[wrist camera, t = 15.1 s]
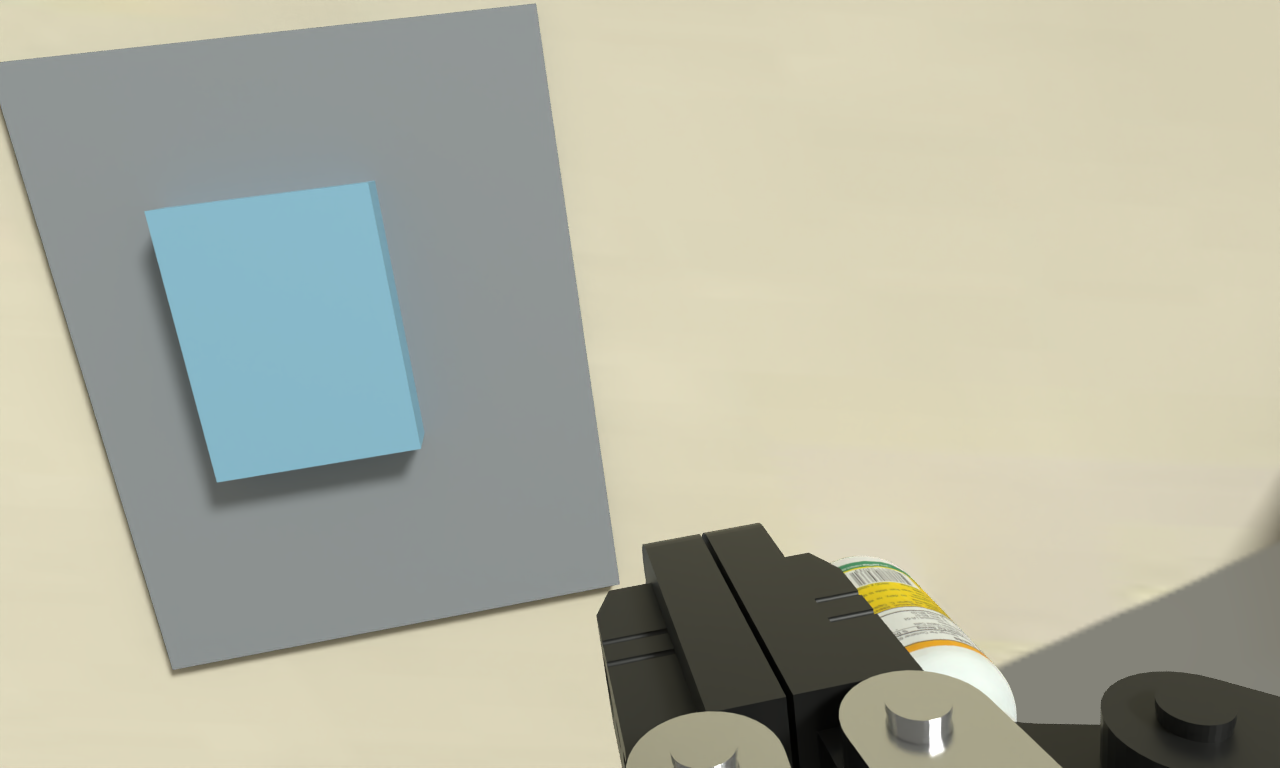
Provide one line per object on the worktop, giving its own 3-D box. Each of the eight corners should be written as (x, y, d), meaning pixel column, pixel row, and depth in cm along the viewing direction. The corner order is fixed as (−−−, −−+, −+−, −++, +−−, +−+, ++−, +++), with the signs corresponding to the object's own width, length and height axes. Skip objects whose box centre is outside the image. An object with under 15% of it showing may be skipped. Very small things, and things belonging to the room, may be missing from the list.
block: (367, 182, 25) (144, 211, 24) (420, 449, 27) (216, 482, 27) (375, 180, 27) (164, 207, 26) (424, 433, 29) (231, 464, 28)
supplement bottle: (870, 523, 33) (1017, 667, 24) (941, 621, 35) (1103, 792, 25) (754, 611, 33) (855, 788, 24) (829, 704, 35) (951, 904, 26)
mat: (534, 6, 27) (536, 3, 26) (617, 576, 32) (619, 584, 31) (-1, 65, 25) (-13, 63, 24) (178, 659, 30) (173, 670, 29)
